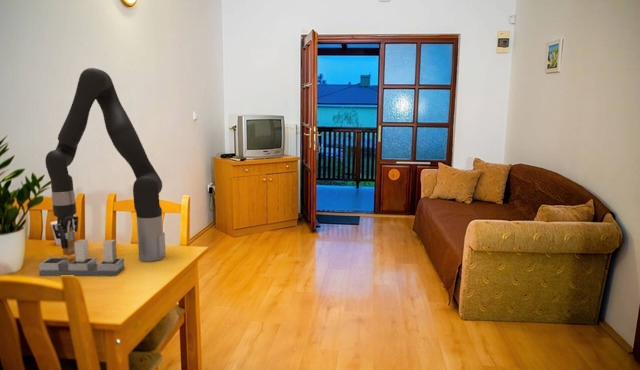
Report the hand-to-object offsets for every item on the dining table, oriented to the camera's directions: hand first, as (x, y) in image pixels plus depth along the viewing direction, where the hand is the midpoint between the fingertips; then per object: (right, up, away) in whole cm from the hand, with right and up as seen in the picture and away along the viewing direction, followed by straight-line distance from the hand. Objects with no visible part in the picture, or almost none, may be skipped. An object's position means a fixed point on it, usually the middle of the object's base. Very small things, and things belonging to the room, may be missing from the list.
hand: (68, 246), depth 165 cm
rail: (+11, -8, -9) cm, 16 cm away
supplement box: (0, -4, +1) cm, 3 cm away
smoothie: (-15, -2, +20) cm, 25 cm away
